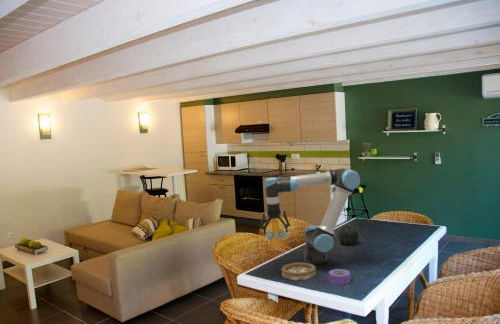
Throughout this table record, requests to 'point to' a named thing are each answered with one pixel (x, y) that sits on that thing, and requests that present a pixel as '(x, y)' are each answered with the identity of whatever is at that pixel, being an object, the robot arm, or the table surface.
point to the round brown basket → (298, 271)
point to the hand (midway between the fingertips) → (276, 238)
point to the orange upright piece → (276, 234)
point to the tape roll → (339, 276)
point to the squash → (348, 235)
